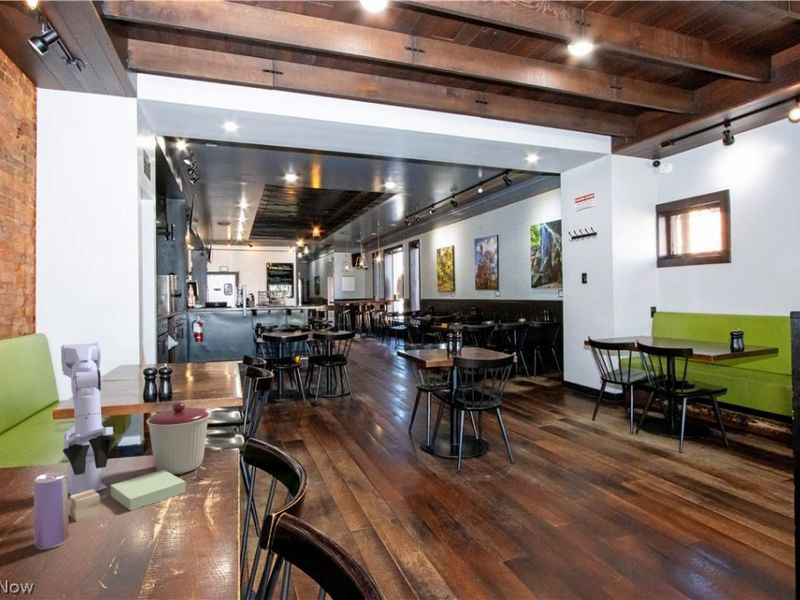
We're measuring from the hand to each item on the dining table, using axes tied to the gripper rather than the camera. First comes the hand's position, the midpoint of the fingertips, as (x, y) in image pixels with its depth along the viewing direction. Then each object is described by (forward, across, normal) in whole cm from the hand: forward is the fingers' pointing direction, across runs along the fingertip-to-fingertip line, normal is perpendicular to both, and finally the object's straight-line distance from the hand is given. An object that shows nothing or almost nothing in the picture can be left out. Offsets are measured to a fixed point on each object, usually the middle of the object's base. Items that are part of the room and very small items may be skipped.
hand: (90, 471), depth 114 cm
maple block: (+10, -5, +2) cm, 11 cm away
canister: (+3, -5, +33) cm, 33 cm away
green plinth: (+8, 0, +16) cm, 18 cm away
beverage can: (+14, 0, -9) cm, 17 cm away
